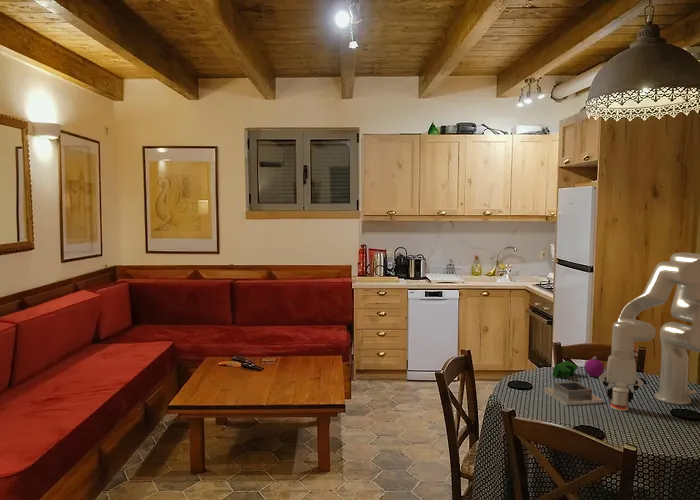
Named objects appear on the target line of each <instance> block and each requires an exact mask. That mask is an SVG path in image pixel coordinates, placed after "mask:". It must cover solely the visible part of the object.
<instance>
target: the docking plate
mask: <svg viewBox="0 0 700 500" xmlns="http://www.w3.org/2000/svg"><path fill="white" fill-rule="evenodd" d="M543 393H546V394H547V395H549V396H550V397H551V398H553V399H555V400H556V401H558V402H560V403H561V404H562V405H564V406H565V407H566V406H578V405H579V406H581V405H595V404H597V405H598V404H603V399H602V398H601V397H599V396H597V395H595V394H594V393H593V389H592V388H590V387H587V386H585V385H584V384H582V383H580V382H578V381H564V382H563V381H562V382H554V383H553V387H544V388H543Z"/></svg>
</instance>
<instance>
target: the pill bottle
mask: <svg viewBox="0 0 700 500" xmlns="http://www.w3.org/2000/svg"><path fill="white" fill-rule="evenodd" d="M611 389H612V394H611V400H610V408H611V409H613V410H615V411H619V412H627V411H628V410H629V403H630V402H629V390H630V387H629V385H627V384H626V382H619V381H617V382H616V383H613V384H612V386H611Z"/></svg>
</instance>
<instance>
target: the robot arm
mask: <svg viewBox="0 0 700 500" xmlns="http://www.w3.org/2000/svg"><path fill="white" fill-rule="evenodd" d="M675 285H676V289H675V293H674V296H673V299H672V300H673V301H672V303H671V308H670V314H671V316H672V317H673V318H675V319H677V320H679V321H683V322H688V323H693V325H688V324H685V323H680V322H676V321H669V322H665V323H663V324H662V326H661V327H660V329H659V339H660V346H661V356H660V358H661V359H660V371H659V372H660V375H659V390H658V391H657V392H655V393H654V397H655V399H656V400H658V401H661V402H663V403H667V404H672V405H679V406H686V405H687V406H688V405H690V404H691V403H692V398H690V396H697V395H698V392H697V390H695V389H692V390H691V389H689V388H688V380H689V379H688V378H689V364H690V359H689V358H690V357H689V354H688V352H687V351H689V352H695V353H700V253H696V252H695V253H692V252H685V251H684V252H675V253H673V254H671V256H670V258H669V261H661V262H658V263H657V264H656V265H655V266H654V268H653V271H652V273H651V275H650V277H649V280H647V283H646V285H645V287H644V290H643V291H642V292H641V294H640V295H638V296H637V297H635V298H634V299H632V300H630V301H629V302H628V303H627V304H626V305H625V306H624V307H623V308H622V310H621V311H620V314H619V315H618V318H617V320H616V321H615V322H613V324H612V331H611V348H610V349H611V354H610V355H609V356H608V358H607V363H606V370H605V371H604V372H603V374H602V375H600V376H598V380H599V381H600V382H601V383H602V384H603V385H604V386H605V387H606V390H607V391H606V396H607V397H608V400H610V401H611V394H612V389H611V388H612V386H613V385H614V384H613V383H616V382H617V381H619V382H626V384H627V385H628V388H629V403H632V400H634V393H635V392H636V391H637V390H639V388H640V387H642V386H644V385H645V384H644V381H643V380H642V379H641V378H640V377H639V376H638V375H637V365H636V364H637V363H636V358H635V357H638V352H636V351H634V347H635V342H643V343H645V342H646V343H647V342H650V341H652V340H653V339H654V338H655V337H656V330H657V329H656V327H655V326H654V325H653V324H651V323H650V322H646V321H642V320H639V319H636V317H637V316H638V315H639V314H640V313H642V312H643V311H646V310H647V309H648V310H649V309H650V308H655V307H658V306H662V305H665V303H666V302H667V300H668V298H669V297H670V295H671V292H672V289H673V288H674V286H675ZM605 378H606V380H605ZM636 381H637V383H636Z"/></svg>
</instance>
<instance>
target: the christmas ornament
mask: <svg viewBox="0 0 700 500" xmlns="http://www.w3.org/2000/svg"><path fill="white" fill-rule="evenodd" d="M584 370H585V372H586V373H587V374H588V376H590V377H594V378H597V377H598V378H599V376H600V375H602V374H603V373H605V365H604V363H603V362H602V361H601V360H600V359H598V357H597V356H592V358H591V359H588V360H587V361H585V364H584Z"/></svg>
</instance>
